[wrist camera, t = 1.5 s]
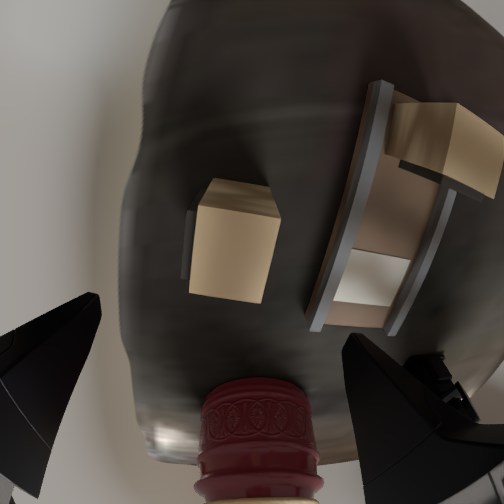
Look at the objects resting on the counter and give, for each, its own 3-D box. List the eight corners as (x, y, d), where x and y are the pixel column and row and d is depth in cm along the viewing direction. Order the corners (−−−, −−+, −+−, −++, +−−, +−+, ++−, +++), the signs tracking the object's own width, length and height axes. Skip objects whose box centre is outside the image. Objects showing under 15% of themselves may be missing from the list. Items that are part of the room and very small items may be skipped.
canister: (276, 435, 35) (285, 542, 19) (189, 416, 32) (175, 536, 16) (329, 387, 30) (361, 522, 14) (226, 360, 27) (218, 531, 11)
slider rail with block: (386, 322, 26) (419, 379, 18) (304, 315, 25) (323, 384, 18) (456, 124, 17) (523, 137, 10) (368, 82, 16) (431, 69, 9)
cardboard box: (269, 187, 20) (281, 219, 14) (256, 250, 22) (260, 303, 16) (205, 176, 19) (186, 203, 13) (196, 240, 22) (178, 290, 15)
